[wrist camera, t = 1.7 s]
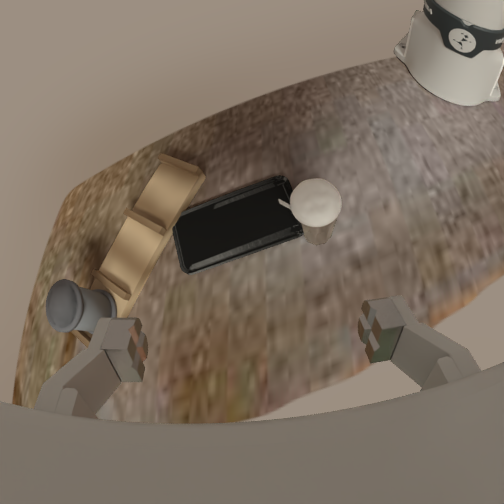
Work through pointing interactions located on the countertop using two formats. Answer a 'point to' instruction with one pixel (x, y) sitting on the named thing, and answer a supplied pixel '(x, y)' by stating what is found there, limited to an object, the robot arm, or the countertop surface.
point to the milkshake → (315, 209)
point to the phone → (235, 225)
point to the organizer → (145, 234)
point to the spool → (78, 307)
